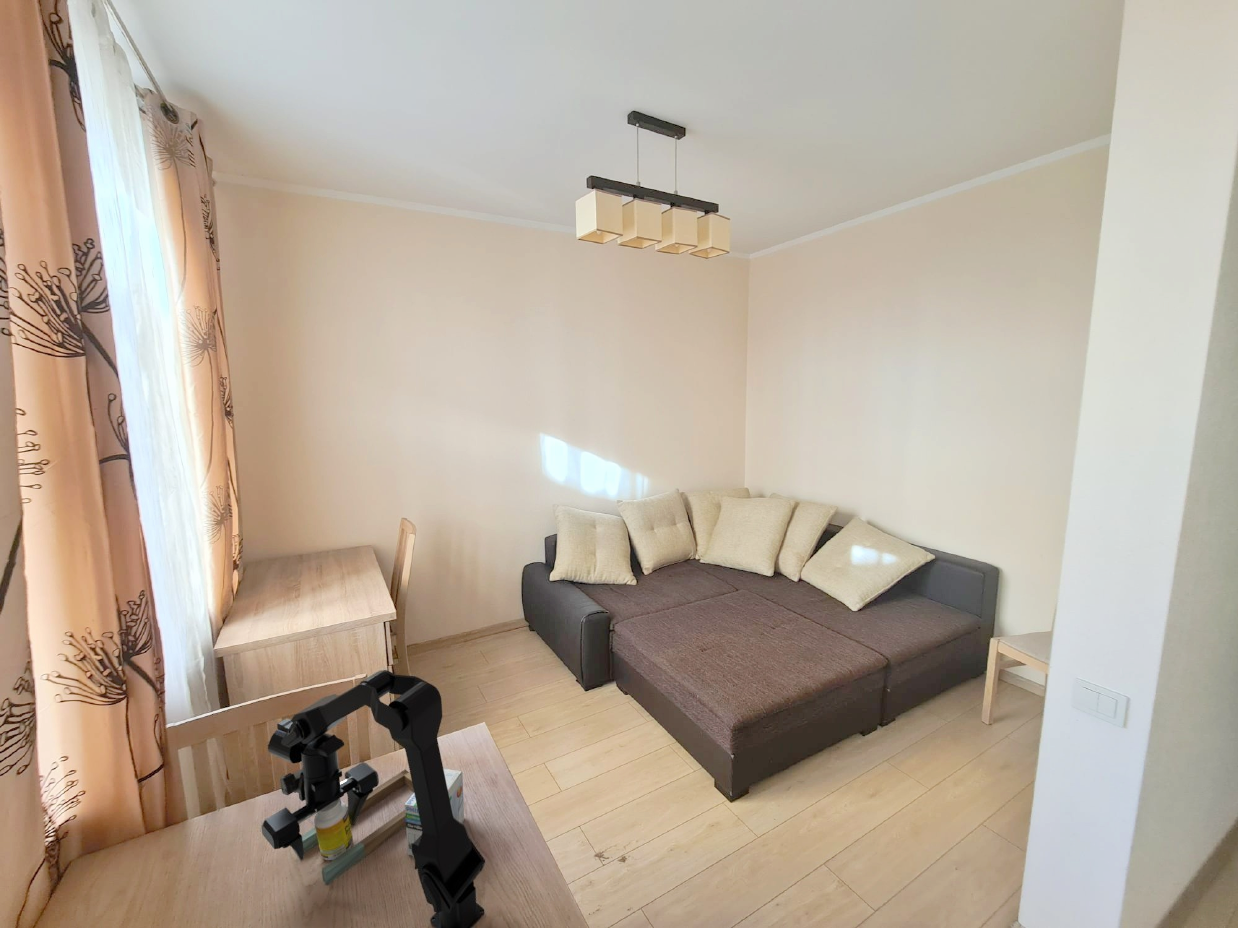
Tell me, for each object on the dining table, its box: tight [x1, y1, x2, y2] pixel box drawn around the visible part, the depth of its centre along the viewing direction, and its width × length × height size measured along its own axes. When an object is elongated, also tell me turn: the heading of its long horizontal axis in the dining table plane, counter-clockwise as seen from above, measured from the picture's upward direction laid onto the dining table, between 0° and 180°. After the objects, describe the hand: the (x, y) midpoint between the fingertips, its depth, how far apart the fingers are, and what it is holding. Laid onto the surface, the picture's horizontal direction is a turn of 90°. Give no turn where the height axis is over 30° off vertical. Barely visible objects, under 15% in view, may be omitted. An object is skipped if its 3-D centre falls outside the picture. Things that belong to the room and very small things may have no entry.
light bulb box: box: [404, 768, 465, 857], centre depth 102 cm, size 11×7×11 cm, turn 168°
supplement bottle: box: [313, 798, 354, 861], centre depth 99 cm, size 6×6×10 cm
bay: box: [301, 769, 414, 886], centre depth 105 cm, size 12×23×2 cm, turn 144°
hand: (327, 840), depth 98 cm, fingers open, 9 cm apart
